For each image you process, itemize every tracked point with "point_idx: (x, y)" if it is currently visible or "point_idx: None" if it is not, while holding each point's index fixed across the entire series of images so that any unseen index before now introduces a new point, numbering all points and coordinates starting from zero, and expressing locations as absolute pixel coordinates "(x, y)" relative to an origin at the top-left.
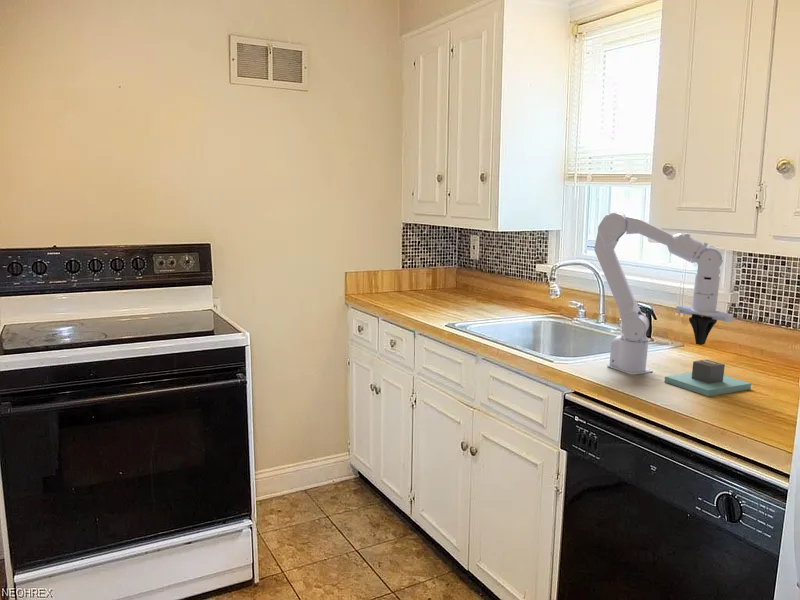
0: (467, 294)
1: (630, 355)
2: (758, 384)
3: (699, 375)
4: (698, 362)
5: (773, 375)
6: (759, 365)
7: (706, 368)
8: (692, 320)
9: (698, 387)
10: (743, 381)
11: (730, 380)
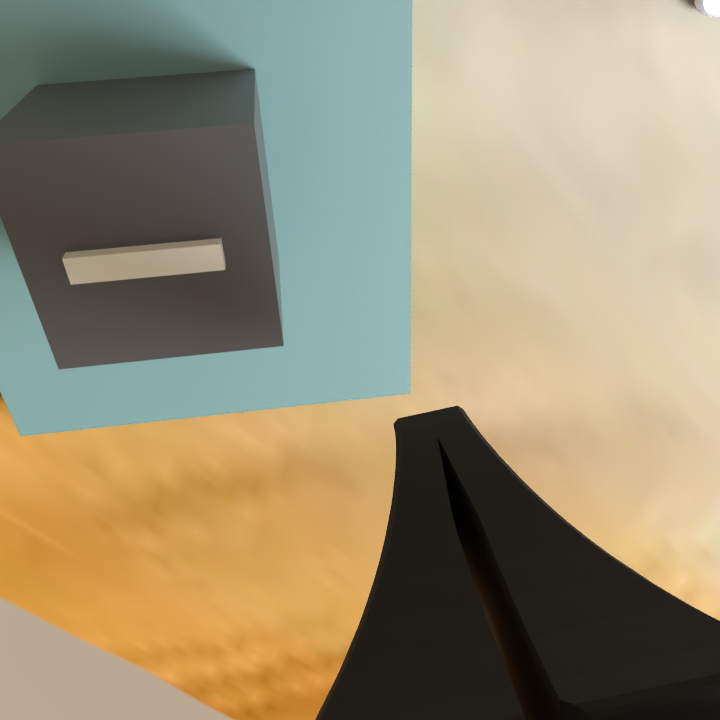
0: None
1: None
2: (149, 524)
3: (156, 89)
4: (187, 143)
5: (282, 674)
6: None
7: (52, 127)
8: (657, 662)
9: None
10: (77, 423)
11: None
